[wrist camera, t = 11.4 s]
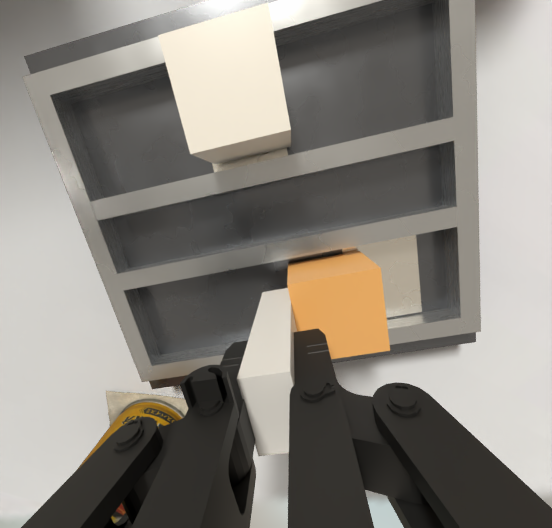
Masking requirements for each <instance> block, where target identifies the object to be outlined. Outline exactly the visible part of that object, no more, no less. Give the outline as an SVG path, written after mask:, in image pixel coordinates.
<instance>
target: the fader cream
mask: <svg viewBox="0 0 552 528" xmlns="http://www.w3.org/2000/svg"><path fill="white" fill-rule="evenodd" d="M158 37H159V41H160V44H161V48H162V52H163V55H164V59H165V63H166V67H167V70H168V74H169V78H170V81H171V85H172V89H173V92H174V96H175V100H176V103H177V107H178V111H179V114H180V118H181V122H182V125H183V129H184V133H185V137H186V140H187V144H188V148H189V151H190V154H191V155H194V156H196V157H198V158H201V159H203V160H206V161H208V162H211V163H213V164H219V163H224V162H228V161H232V160H236V159H241V158H245V157H249V156H253V155H258V154H262V153H266V152H270V151H274V150H279V149H283V148H287V147H291V127H290V122H289V116H288V110H287V105H286V99H285V94H284V88H283V82H282V77H281V71H280V66H279V60H278V54H277V49H276V43H275V38H274V32H273V26H272V21H271V15H270V10H269V4H268V3H264V4H261V5H258V6H254V7H251V8H248V9H244V10H241V11H238V12H234V13H231V14H227V15H224V16H221V17H217V18H214V19H211V20H207V21H204V22H201V23H197V24H194V25H191V26H187V27H184V28H181V29H177V30H174V31H170V32H167V33H164V34H160V35H158Z"/></svg>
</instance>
